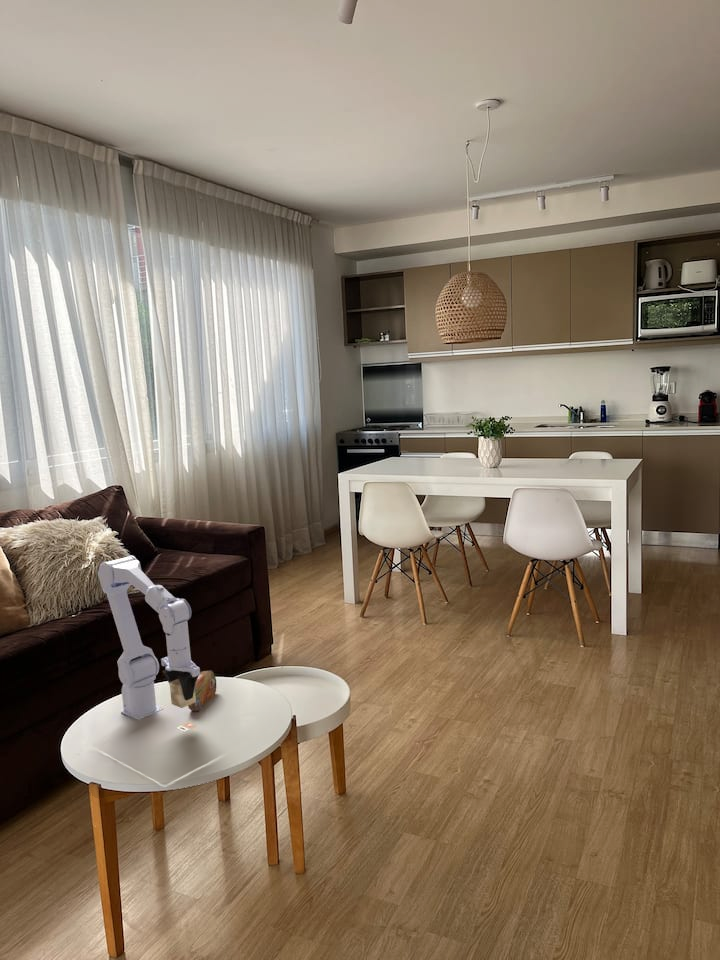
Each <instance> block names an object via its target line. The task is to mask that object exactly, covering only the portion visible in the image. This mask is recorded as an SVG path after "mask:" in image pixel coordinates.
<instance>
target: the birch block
mask: <svg viewBox="0 0 720 960" xmlns="http://www.w3.org/2000/svg"><path fill="white" fill-rule="evenodd" d="M169 689H170V690H169V691H170V701H171V705H173V706H176V707H178V708H180V709H183V708H185V707H188V705H190V704H192V703H195V702H196V696H195V688H194V693H193V698H191V699H189V700H185V698H184V695H183V690H182V686H181V683H180V681H179V680H178V679H176V680H174V681H172V682H170V684H169Z"/></svg>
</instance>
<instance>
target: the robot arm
mask: <svg viewBox="0 0 720 960" xmlns="http://www.w3.org/2000/svg"><path fill="white" fill-rule="evenodd" d="M141 566H142V565H141V561H139V560H138V559H137V558H136V556H135V555H128V556H126V557H122V558H118V559H113V560H110V561H109V560H108V561H102V562H101V563H100V564H99V567H98V571H97V576H98V580H99V584H100V587H101V589H102V592H103V593H104V594H106V596H107V599H108V603H109V606H110V611H111V613H112V615H113V616H112V617H113V619H114V623H115V626H116V629H117V632H118V636H119V638H120V639H119V640H120V642H121V646H122V649H123V651H122V654H121V655H120V657H119V658H118V660H117V662H116V663H117V667H118V678H119V680H120V682H121V683H122V686H121V699H122V708H123V709H121V710H120V713H122V714H124V715H126V716H128V717H131V718H134V719H135V720H142V719H143V718H147V717H148V716H151V715H153V714H155V713H157V712H160V711H162V710H164V708H163V707H160V706H159V705H157V700H156V691H155V690H156V689H155V681H154V680H156V679H157V677H156V676H157V675H158V673H159V672H160V664H161V666H162V667H165V669H163V670H162V674H163V676H164V677H165V678H166V680H167V682H168V684H169V685H170V682H172V681H174V680H176V679H178V680H179V681H180V683H181V686H182V690H183V695H184V698H185V700H189V699H191V698H193V693H194V688H195V683H196V681H197V678H198V676H199V675H200V673H201V669H200V666H197V665H196V663H194V661H192V657H191V655H192V654H191V646H190V645H191V644H190V635H189V625H188V621H189V620H190V619H191V617H192V608H191V606H190V604H189V602H188V600H186V599H185V598H179V597H175V596H174V595H173V594H172V593H170V592H169V591H168V590H167V589H166V588H165V587H164V586H163V585H161V584H154V583H153V582H152V581H151V579H150V578H149V577H148V575H146V574H145V573H144V572H143V570H142V567H141ZM130 586H133V587H134V588H135V589H137V590H138V591H139V592H141V594H143V595H145V596H144V600H145V602H146V603H147V604H148V605H149V606H150V607H151V608H152V609H153V610H154V611H155V612H156V613H158V618H159V620H160V623H161V625H162V630H163V632H164V633H165V640H166V650H167V656H165V657H162V658H160V661H161V663H159V661H158V658H157V657H156V656H155V654H154V652H153V649H152V648H151V647H148V646H145V645H144V644H143V642H142V639H141V635H140V632H139V630H138V625H137V622H136V619H135V615H134V612H133V609H132V606H131V603H130V600H129V597H128V589H129V587H130Z"/></svg>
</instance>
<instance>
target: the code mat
mask: <svg viewBox="0 0 720 960" xmlns="http://www.w3.org/2000/svg"><path fill="white" fill-rule="evenodd" d="M194 728H196V725H195V724H193V723H190V722H187V723H184V724H183V725H179V726H177V727H176V729H178V730H179V731H181V732H187V731H189V730H190V729H194Z"/></svg>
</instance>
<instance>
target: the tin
mask: <svg viewBox="0 0 720 960" xmlns="http://www.w3.org/2000/svg"><path fill="white" fill-rule="evenodd" d="M216 692H217V678H216V674H215V672H214V671H213V670H204V671H203V670H202V671H200V675H199V676H198V678H197V681H196V683H195V696H196V702H195V703H192V704H190V705H188V706H187V707H188V710H190V711H192V712H195V711H196V712H200V711H201V709H203V708H204V706H205V705H206V704H207V703H209V701H210V700H211V699H212V698H213V697H214V696H215V695H216Z"/></svg>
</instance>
